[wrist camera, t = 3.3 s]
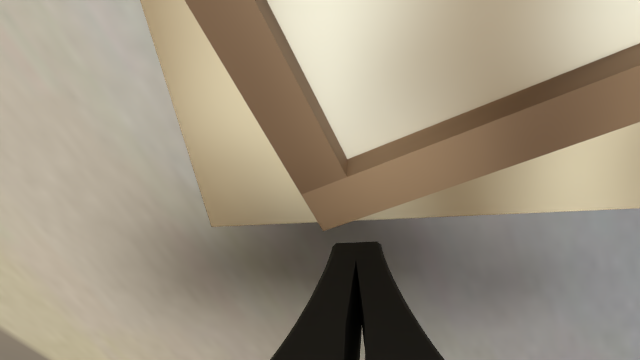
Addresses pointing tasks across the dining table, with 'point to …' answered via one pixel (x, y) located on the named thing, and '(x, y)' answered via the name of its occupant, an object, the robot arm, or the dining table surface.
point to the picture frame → (423, 87)
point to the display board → (290, 207)
